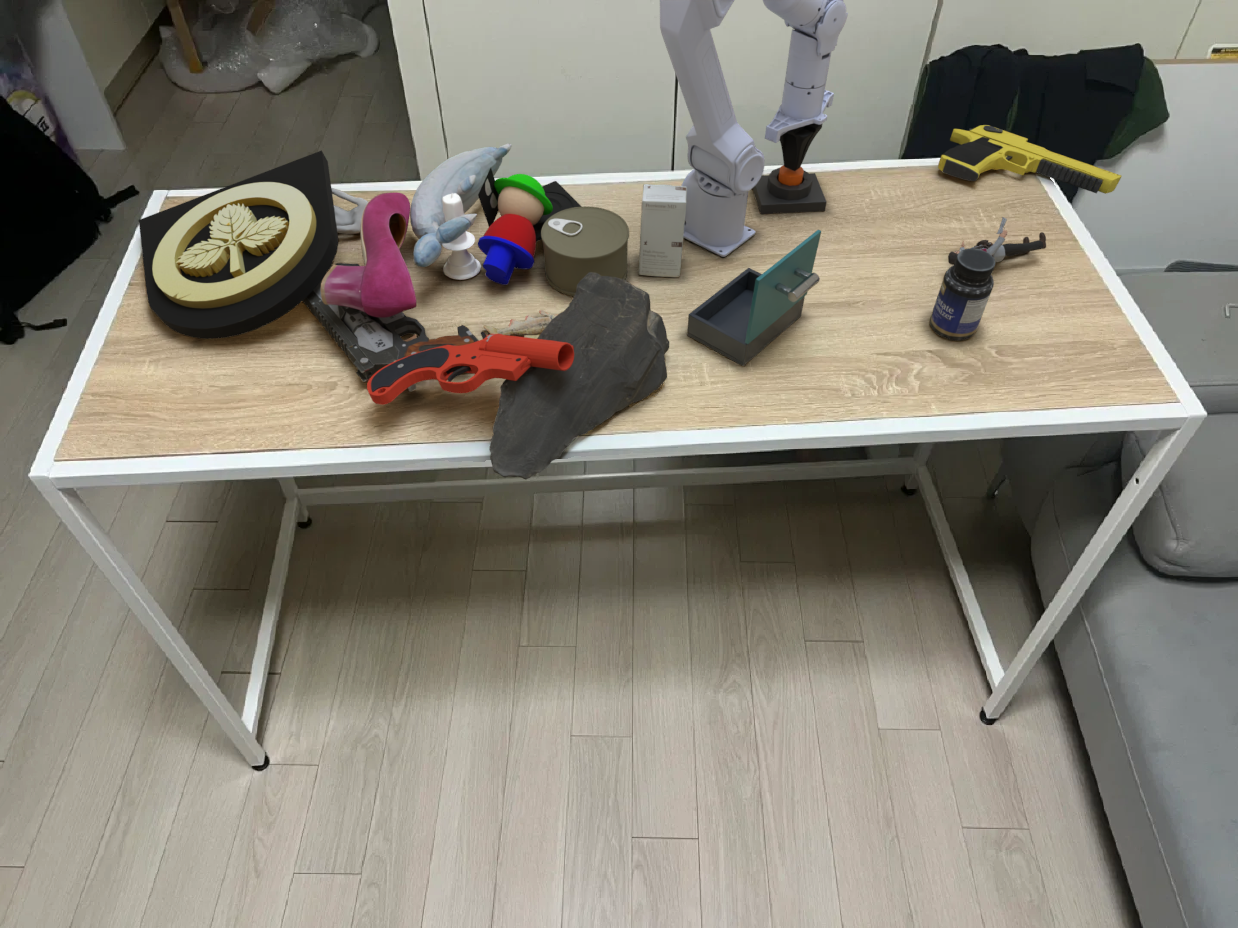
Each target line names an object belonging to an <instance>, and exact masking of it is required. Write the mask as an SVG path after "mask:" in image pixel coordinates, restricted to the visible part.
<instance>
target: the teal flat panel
mask: <svg viewBox="0 0 1238 928" xmlns="http://www.w3.org/2000/svg"><path fill="white" fill-rule="evenodd" d="M821 236H822V230H820V229H817V230H816V231H814V232H813V233H812V234H811V235H809V236H808V237H806V239H804V240H803V241H802V242H800V243H799V244H798V245H797V246H795V247H793V249H792V250H790V251H789V252H788V253H787V254H785V255H784V256H783V257H781V258H780V259H779V260H778V261H777V262H775V263H774V264H772V266H770V267H769V268H768V269H767V270H765V271H764V272H763V273H761V274H762V275H760V276H759V277H758V278H757V279H756V281H755V287H754V293H753V299H752V305H751V310H750V316H749V322H748V328H747V334H746V339H745V343H747V344H749V343H750V342H751V341H752V340H754V339H755V338H756V337H757V336H758V335H760V334H761V333H762V332H763V331H764V330H765V329H767V328H768V327H769V326H770V325H771V324H773V323H774V322H775V321H776V320H777V319H778V318H780V317H781V316H782V315H783V314H784V313H785V312H787V311H788V310H789V309H790V308H791V307H793V306H794V305H795V304H796V303H797V302H798V301H800V300H801V299H802V298H803V297H804V296H805V297H806V296H807V295H808V293H809V291H810V290H811V289H812V288H814V287H815V286H816V285H817V284H818V283H820V280H821V279H820V276H819V274H818V273H816V272H813V269H814V266H815V262H816V257H817V251H818V248H819V243H820V239H821Z"/></svg>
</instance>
